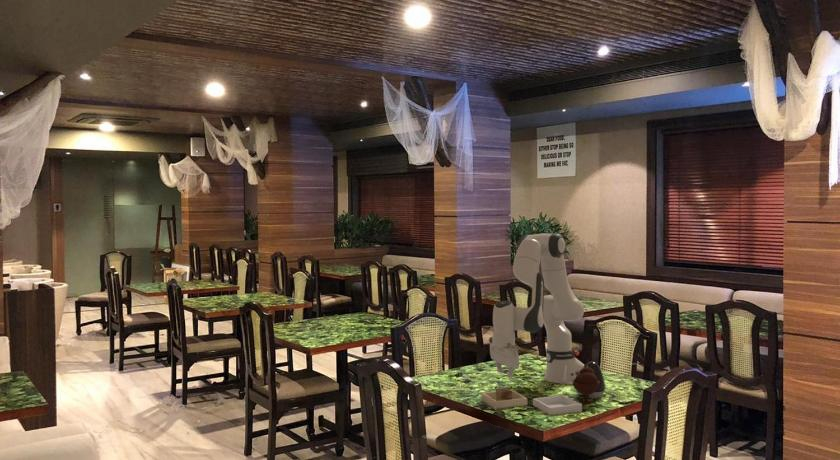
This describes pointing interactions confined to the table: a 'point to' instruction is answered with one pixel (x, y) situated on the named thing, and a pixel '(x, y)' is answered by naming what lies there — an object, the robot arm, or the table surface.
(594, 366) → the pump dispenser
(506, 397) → the walnut block
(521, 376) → the table surface
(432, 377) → the table surface
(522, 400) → the cream bin
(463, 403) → the table surface
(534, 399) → the grey bin
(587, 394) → the ice cream bowl
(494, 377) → the table surface
